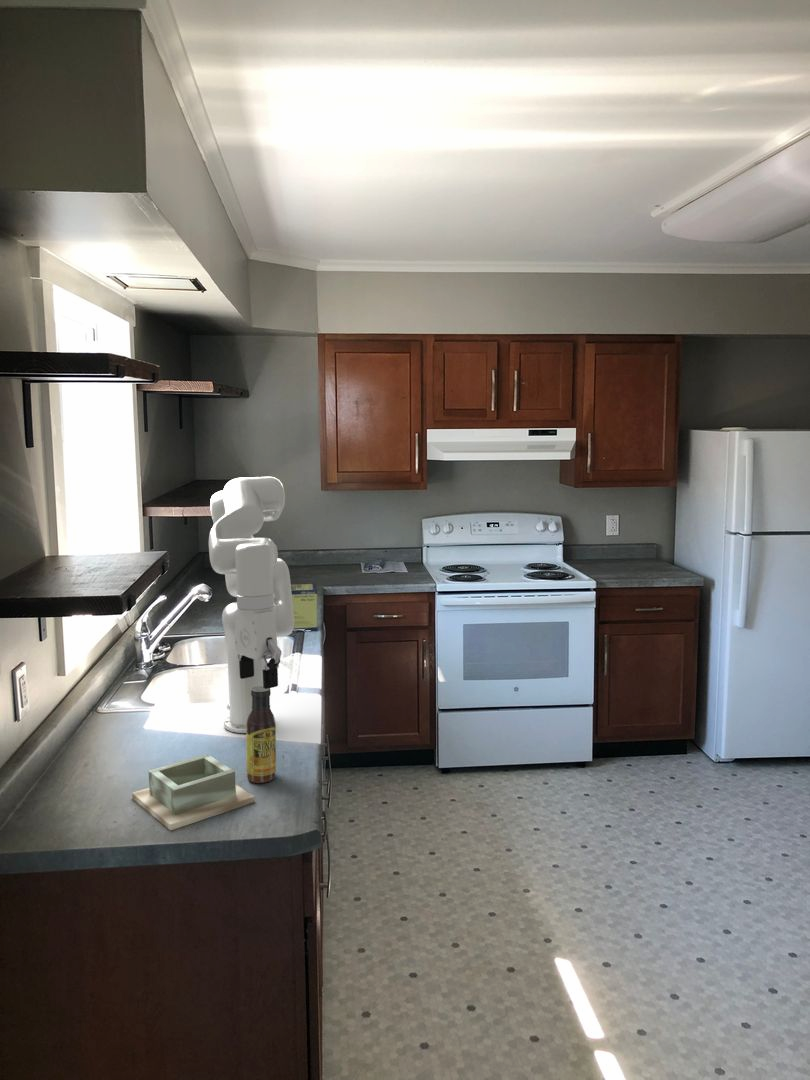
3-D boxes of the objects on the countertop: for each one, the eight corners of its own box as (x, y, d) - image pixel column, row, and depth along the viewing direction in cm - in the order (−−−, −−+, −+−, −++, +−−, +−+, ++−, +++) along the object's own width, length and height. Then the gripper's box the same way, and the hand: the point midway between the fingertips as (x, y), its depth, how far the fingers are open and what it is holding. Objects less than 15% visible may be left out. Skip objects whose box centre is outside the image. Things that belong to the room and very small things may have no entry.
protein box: (318, 631, 306) (317, 588, 304) (274, 633, 304) (273, 590, 302) (317, 624, 317) (316, 583, 314) (275, 626, 314) (273, 584, 312)
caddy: (132, 798, 173) (130, 769, 172) (212, 774, 185) (211, 746, 184) (170, 830, 160) (168, 799, 159) (254, 802, 171) (253, 772, 170)
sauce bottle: (254, 787, 178) (251, 695, 175) (241, 777, 183) (238, 688, 180) (282, 779, 182) (279, 689, 179) (269, 769, 187) (266, 682, 184)
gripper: (219, 599, 181) (222, 677, 183) (260, 611, 168) (264, 695, 170) (250, 594, 186) (253, 670, 188) (293, 605, 172) (296, 687, 174)
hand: (258, 682), depth 179 cm, fingers open, 9 cm apart
